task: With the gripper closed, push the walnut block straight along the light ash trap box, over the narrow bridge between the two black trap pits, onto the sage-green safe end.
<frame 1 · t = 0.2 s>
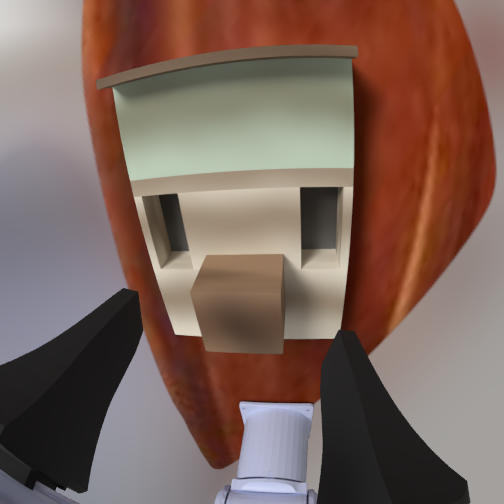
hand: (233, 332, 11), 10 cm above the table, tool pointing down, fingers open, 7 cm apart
walnut block: (247, 285, 19), point 2 cm above the table, touching trap box
trap box: (246, 205, 19), on the table
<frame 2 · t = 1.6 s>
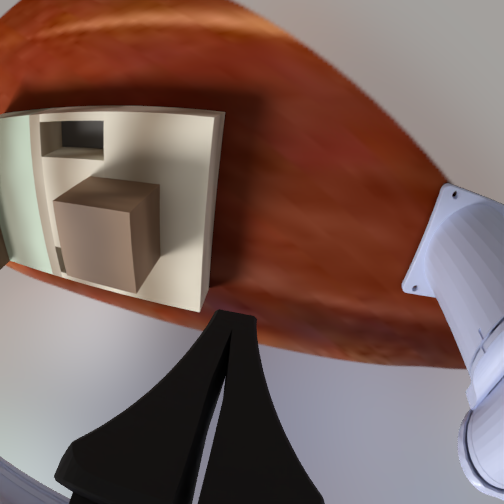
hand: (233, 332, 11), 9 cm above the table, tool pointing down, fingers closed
walnut block: (124, 216, 17), point 2 cm above the table, touching trap box
trap box: (89, 192, 19), on the table
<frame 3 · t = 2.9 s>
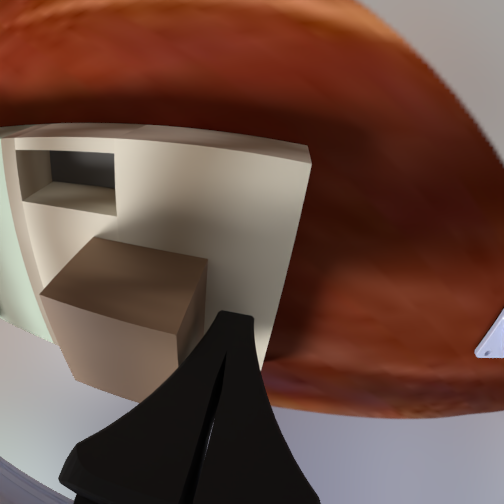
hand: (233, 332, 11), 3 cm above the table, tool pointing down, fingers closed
walnut block: (149, 295, 12), point 3 cm above the table, touching gripper
trap box: (94, 245, 14), on the table
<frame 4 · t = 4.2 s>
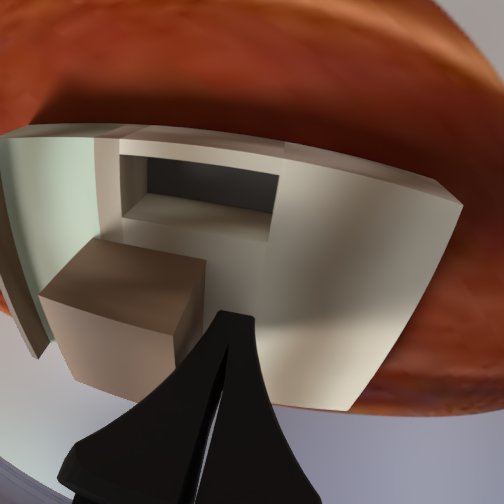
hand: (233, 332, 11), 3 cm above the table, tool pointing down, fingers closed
walnut block: (148, 296, 12), point 3 cm above the table, touching gripper, trap box
trap box: (193, 265, 14), on the table
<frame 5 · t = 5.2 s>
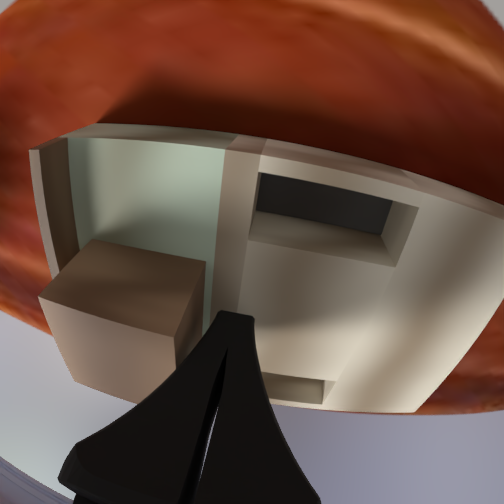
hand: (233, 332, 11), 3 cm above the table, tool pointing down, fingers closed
walnut block: (148, 297, 12), point 2 cm above the table, touching gripper, trap box
trap box: (290, 284, 14), on the table
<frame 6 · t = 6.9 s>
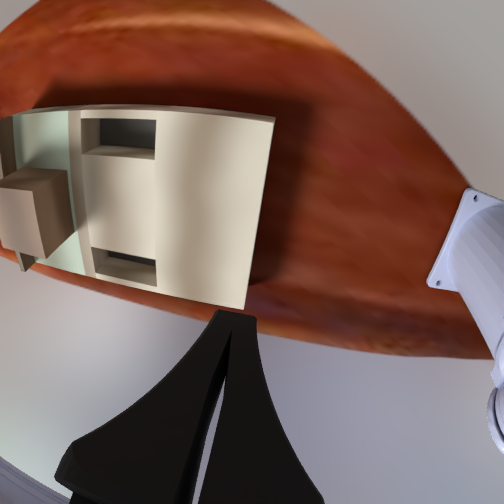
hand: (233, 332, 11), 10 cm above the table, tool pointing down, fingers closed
walnut block: (47, 199, 18), point 2 cm above the table, touching trap box
trap box: (128, 192, 20), on the table
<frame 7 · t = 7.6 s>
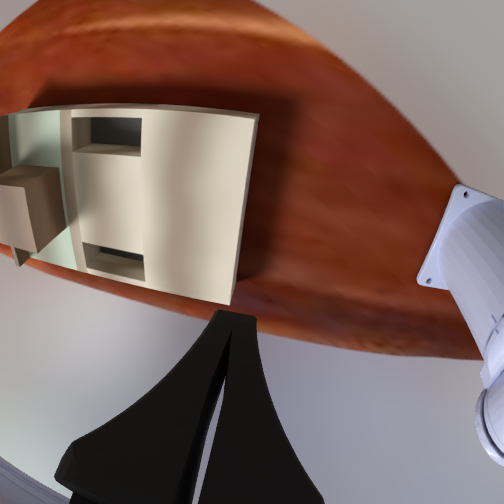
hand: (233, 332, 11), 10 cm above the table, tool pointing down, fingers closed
walnut block: (40, 195, 18), point 2 cm above the table, touching trap box
trap box: (118, 188, 20), on the table
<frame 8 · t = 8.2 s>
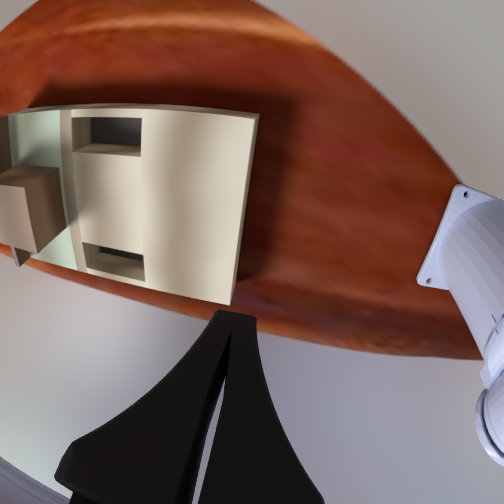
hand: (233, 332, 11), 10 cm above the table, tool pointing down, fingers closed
walnut block: (40, 195, 18), point 2 cm above the table, touching trap box
trap box: (118, 188, 20), on the table
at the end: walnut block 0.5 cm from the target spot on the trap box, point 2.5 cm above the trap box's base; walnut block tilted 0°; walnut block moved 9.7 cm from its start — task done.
